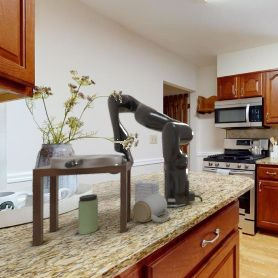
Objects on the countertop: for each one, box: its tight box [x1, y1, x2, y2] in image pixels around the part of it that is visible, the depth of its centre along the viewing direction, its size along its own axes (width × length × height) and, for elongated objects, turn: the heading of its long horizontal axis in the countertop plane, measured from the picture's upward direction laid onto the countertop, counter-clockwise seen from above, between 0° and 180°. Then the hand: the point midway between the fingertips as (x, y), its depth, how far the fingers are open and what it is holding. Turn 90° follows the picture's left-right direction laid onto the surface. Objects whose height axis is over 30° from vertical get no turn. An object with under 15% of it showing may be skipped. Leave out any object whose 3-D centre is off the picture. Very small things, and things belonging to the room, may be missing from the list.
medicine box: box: [134, 181, 160, 205], centre depth 84 cm, size 8×4×9 cm, turn 84°
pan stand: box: [32, 154, 132, 247], centre depth 56 cm, size 20×23×21 cm
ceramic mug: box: [132, 192, 171, 223], centre depth 68 cm, size 11×8×8 cm
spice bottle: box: [77, 193, 99, 235], centre depth 59 cm, size 4×4×10 cm
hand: (108, 169), depth 81 cm, fingers open, 8 cm apart
